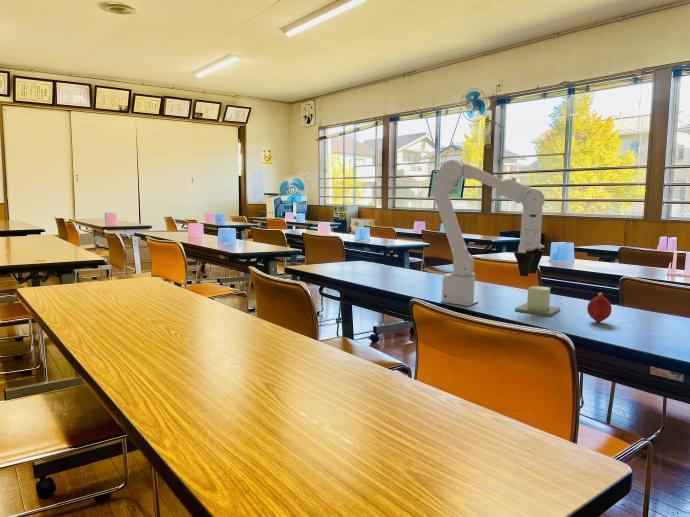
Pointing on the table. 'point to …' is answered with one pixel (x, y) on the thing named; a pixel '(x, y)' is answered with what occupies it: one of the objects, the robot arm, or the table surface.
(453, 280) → the robot arm
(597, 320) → the onion
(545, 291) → the block
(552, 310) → the coaster
